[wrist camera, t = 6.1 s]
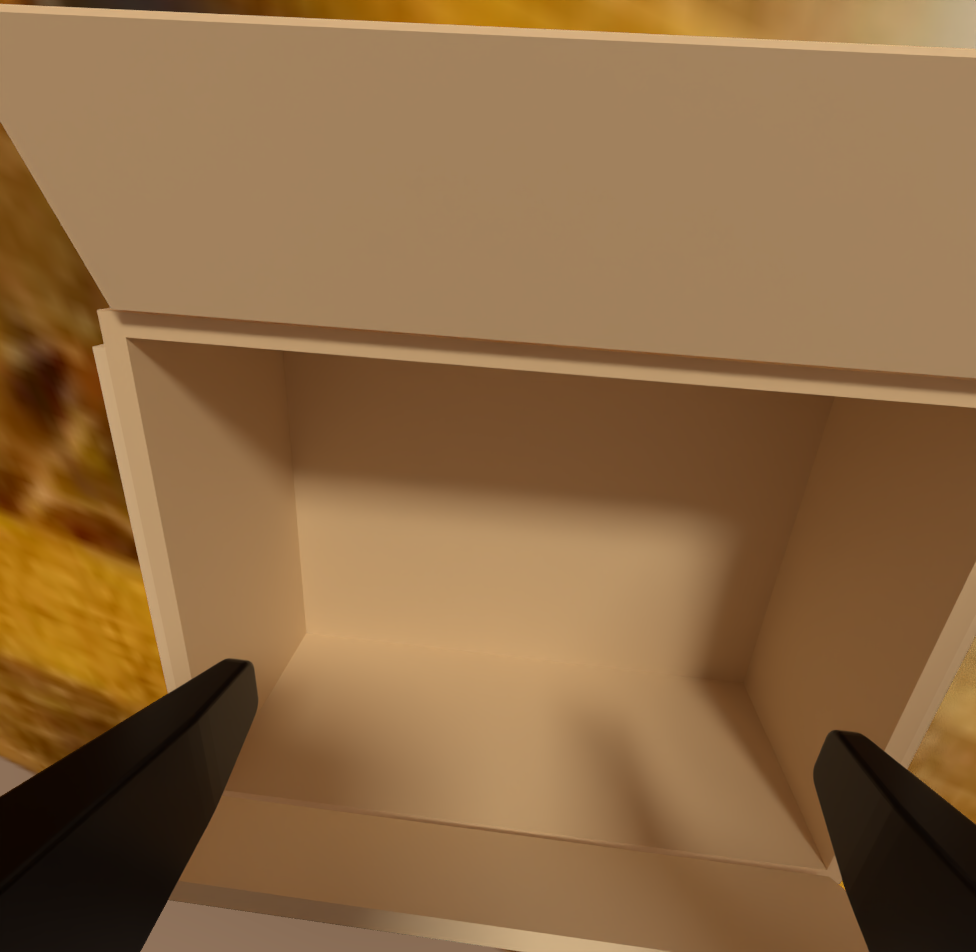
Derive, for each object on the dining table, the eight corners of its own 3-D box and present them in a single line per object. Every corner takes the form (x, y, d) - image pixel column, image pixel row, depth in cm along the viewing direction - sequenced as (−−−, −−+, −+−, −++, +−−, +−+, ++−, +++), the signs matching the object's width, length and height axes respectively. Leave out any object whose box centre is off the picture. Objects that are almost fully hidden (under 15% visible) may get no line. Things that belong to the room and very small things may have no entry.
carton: (891, 329, 13) (1128, 393, 8) (766, 691, 18) (863, 890, 13) (247, 281, 14) (64, 307, 9) (283, 636, 19) (177, 798, 14)
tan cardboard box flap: (1074, 385, 8) (1062, 371, 8) (1413, 77, 5) (1382, 67, 5) (111, 308, 9) (121, 297, 9) (-66, 9, 6) (-47, 1, 6)
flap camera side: (210, 794, 13) (207, 807, 13) (99, 869, 9) (94, 889, 9) (829, 876, 12) (830, 892, 12) (959, 993, 9) (961, 1015, 9)
